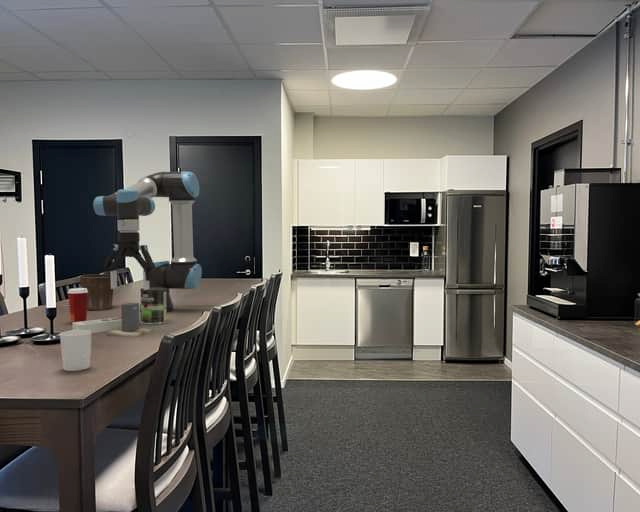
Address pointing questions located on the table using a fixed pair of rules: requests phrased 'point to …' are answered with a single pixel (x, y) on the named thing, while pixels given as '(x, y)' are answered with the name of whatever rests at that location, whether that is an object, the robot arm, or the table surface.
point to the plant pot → (98, 291)
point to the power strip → (99, 325)
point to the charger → (130, 317)
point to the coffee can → (153, 305)
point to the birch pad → (130, 334)
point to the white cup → (76, 349)
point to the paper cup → (78, 304)
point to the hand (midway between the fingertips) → (130, 289)
